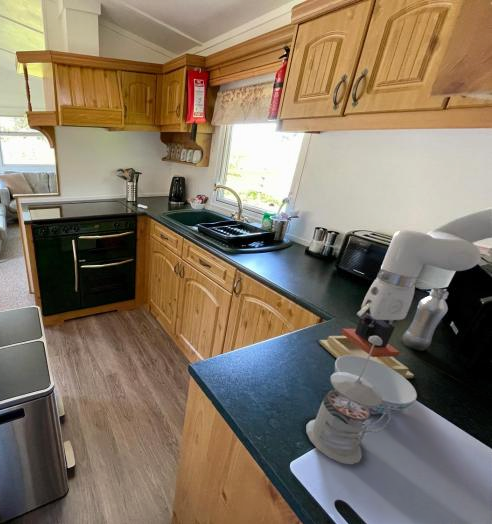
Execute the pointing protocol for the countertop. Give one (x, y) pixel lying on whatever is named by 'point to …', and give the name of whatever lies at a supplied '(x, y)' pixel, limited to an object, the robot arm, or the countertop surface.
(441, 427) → the countertop surface
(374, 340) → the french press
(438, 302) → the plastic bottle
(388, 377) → the chinaware
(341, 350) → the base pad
